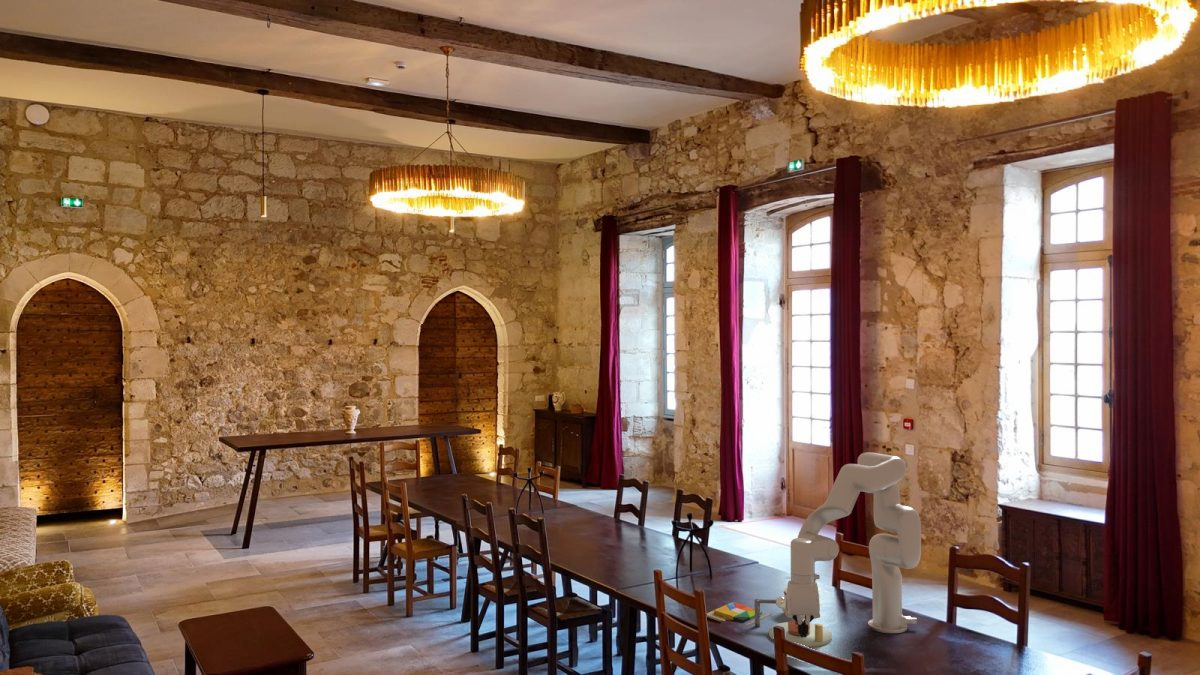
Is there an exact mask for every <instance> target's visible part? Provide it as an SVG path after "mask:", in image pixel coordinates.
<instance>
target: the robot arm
mask: <svg viewBox="0 0 1200 675" xmlns="http://www.w3.org/2000/svg"><path fill="white" fill-rule="evenodd" d="M906 473H907V466H906V463H905V461H904V460H903V459H902V458H901V457H899V456H895V455H890V454H883V453H877V452H862V453H860V455H859V456H858V457H857V463H847V464H844V465H843V466H841V468H840V470H839V472H838V475H837V477H836V478H835V481H834V482H833V485H832V487H831V490H830V492H829V494H828V497H827V498H826V501H825V502H824V503H823V504H821V505H820V506H818V507H817V508H816V509H815V510H814V511H813V512H811V513H810V514H809V515H808V516H807V518H806V519H805V520H804V522H803V523H802V526H801V528H800V530H799V532H798V534H797V538H795V537H794V538H793V539H791V541H790V580H788V581H787V585H786V586H787V587H786V588H787V593H786V609H787V611H786V615H785V617H786V618H789V619H791V620H792V619H793V620H795V621H796V622H797V623H798V634H800V636H801V637H806V634H808V625H809V623H812V621H813V620H816V619H820V618H821V613H820V610H821V609H820V608H821V606H820V605H821V604H820V594H819V587H818V586H819V585H818V582H817V580H820V578H821V576H820V574H817V573H816V562H831V561H834V560H835V559H836V558H837V557H838V555H839V552H840V546H839V544H838V542H837V541H836V540H835V539H833V538H831V537H828V536H824V535H821V534H819V533H820V532H821V530H822V529H823V528H824V526H826V525H827V524H828V523H830V522H833V521H836V520H839V519H842V518H845V517H847V516H848V517H849V515H851V514H852V511H853V509H854V507H855V504H856V502H857V500H858V497H859V495H860V493H861V492H864V493H868V494H873V523H874V525H875V527H876V528H878V529H880V530H883V531H885V532H888V533H877V534H874V535H873V536H872V537H871V539H870V540H869V543H868V553H869V558H870V562H871V563H870V564H871V572H872V574H871V576H872V581H871V583H872V584H871V586H872V589H871V590H872V594H871V596H872V599H871V600H872V605H871V606H872V619H870V620H868V621H867V624H868V626H869V627H870V628H871V630H872V631H876V632H879V633H882V634H883V633H884V634H900V633H904V632H906V631H907V630H908V624H911V625H912V624H913V625H915V624H916V625H917V623H918V619H917V617H911V615H907V616H906V615H904V614H903V592H902V590H903V588H902V587H903V585H902V584H903V581H902V580H903V577H902V573H901V569H900V568H902V569H907V570H911V569H912V570H913V569H914V568H916V567H917V566H918V565H919V562H920V560H921V555H922V522H921V516H920V515H919V512H918V511H917V510H916V509H914V508H912V507H911V506H907V505H902V504H901V496H900V485H899V482H901V480H903V479H904V477H905V475H906ZM889 532H890V533H893V534H897V535H898V536H897V535H892V534H889ZM801 615H805V618H803V621H804V622H802V621H801Z"/></svg>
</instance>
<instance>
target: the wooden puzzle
mask: <svg viewBox="0 0 1200 675" xmlns="http://www.w3.org/2000/svg"><path fill="white" fill-rule="evenodd" d="M706 614H707V617H706V618H708V619H710V620H715V621H717V622H720V623H721V622H722V621H723V622H726V620H728V621H735V622H739V623H741V624H742V623H746V622H748V621H751V620H752V619H754V620H752V621H751V622H748V623H746V625H745V627H749V626H751V625H755V608H751V607H749V606H747V605H743V604H741V603H738V602H735V601H732V602H729V603H727V604H725V605H722V606H721V607H718V608H715V609H714V610H712V611H710V612H709V611H708V612H707V613H706ZM761 615H762V616H761ZM771 615H772V613H771V612H769V613H767V614H765V615H763V611H761V610H760V621H762V620H764V619H766V618H767V617H770V616H771Z"/></svg>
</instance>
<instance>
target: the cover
mask: <svg viewBox="0 0 1200 675" xmlns="http://www.w3.org/2000/svg"><path fill="white" fill-rule="evenodd" d="M801 621H802V622H804V618H801ZM787 622H788V633H789V634H790V635H793V636H800V634H798V623H797V622H796V621H795V620H794V619H793V620H792V619H791V620H789V621H787ZM809 634H810V624H809V625H808V634H806V636H808V635H809ZM800 637H801V636H800Z"/></svg>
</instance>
